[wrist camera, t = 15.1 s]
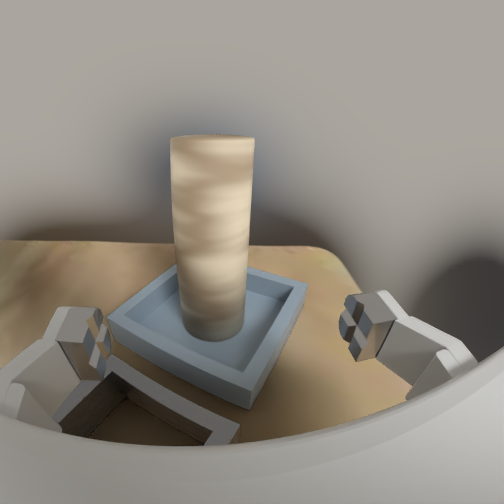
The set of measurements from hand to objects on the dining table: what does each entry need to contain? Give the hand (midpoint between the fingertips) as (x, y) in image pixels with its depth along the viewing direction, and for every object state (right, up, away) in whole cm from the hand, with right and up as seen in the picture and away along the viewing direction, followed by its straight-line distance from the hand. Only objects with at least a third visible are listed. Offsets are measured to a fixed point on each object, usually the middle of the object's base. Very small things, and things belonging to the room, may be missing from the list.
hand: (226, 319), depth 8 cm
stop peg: (-2, -3, +13) cm, 14 cm away
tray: (-2, -4, +14) cm, 14 cm away
